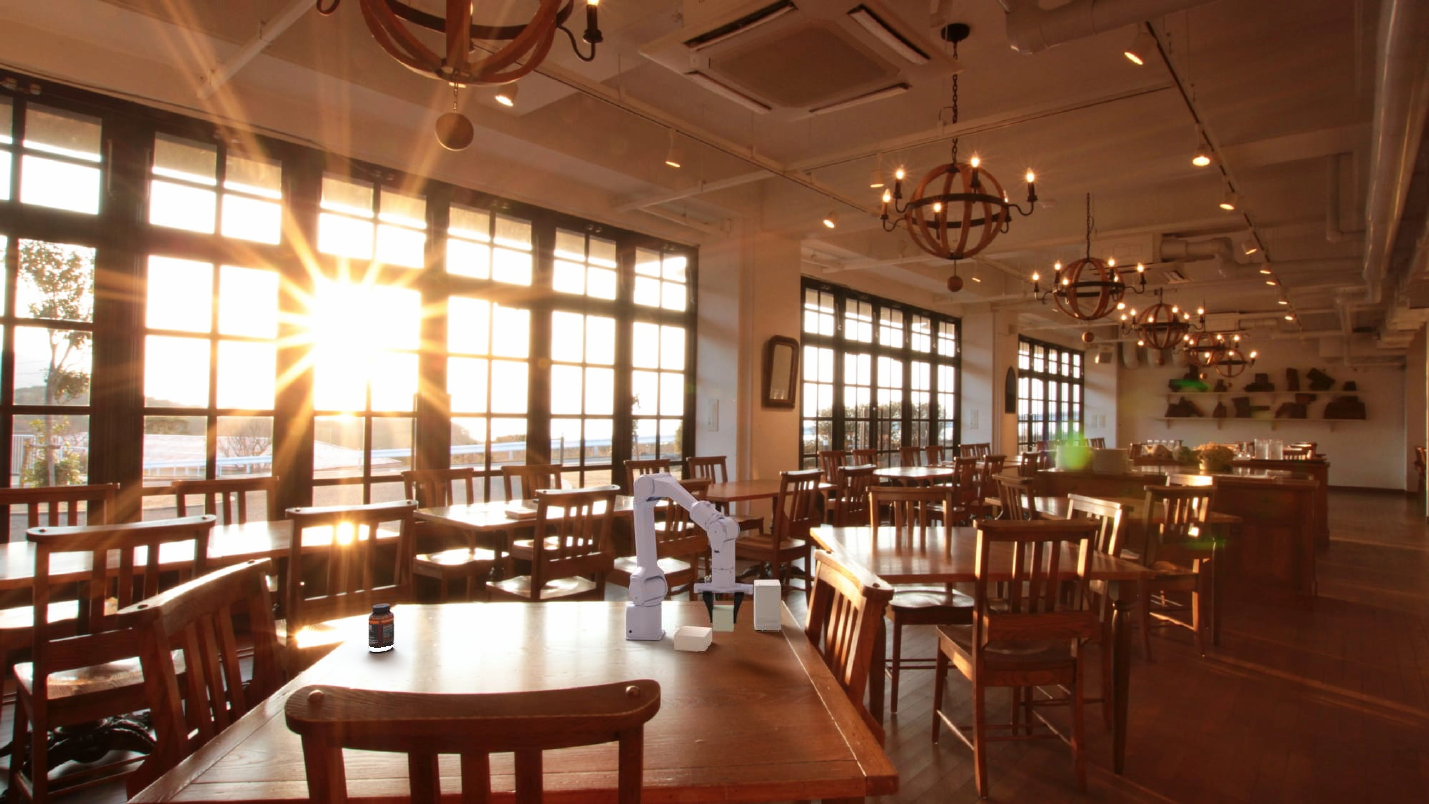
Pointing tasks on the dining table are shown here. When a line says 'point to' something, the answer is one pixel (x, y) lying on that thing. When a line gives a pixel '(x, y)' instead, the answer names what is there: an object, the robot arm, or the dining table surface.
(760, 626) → the supplement box
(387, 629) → the supplement bottle
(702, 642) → the cream block
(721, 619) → the sage block
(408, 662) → the dining table surface
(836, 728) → the dining table surface
